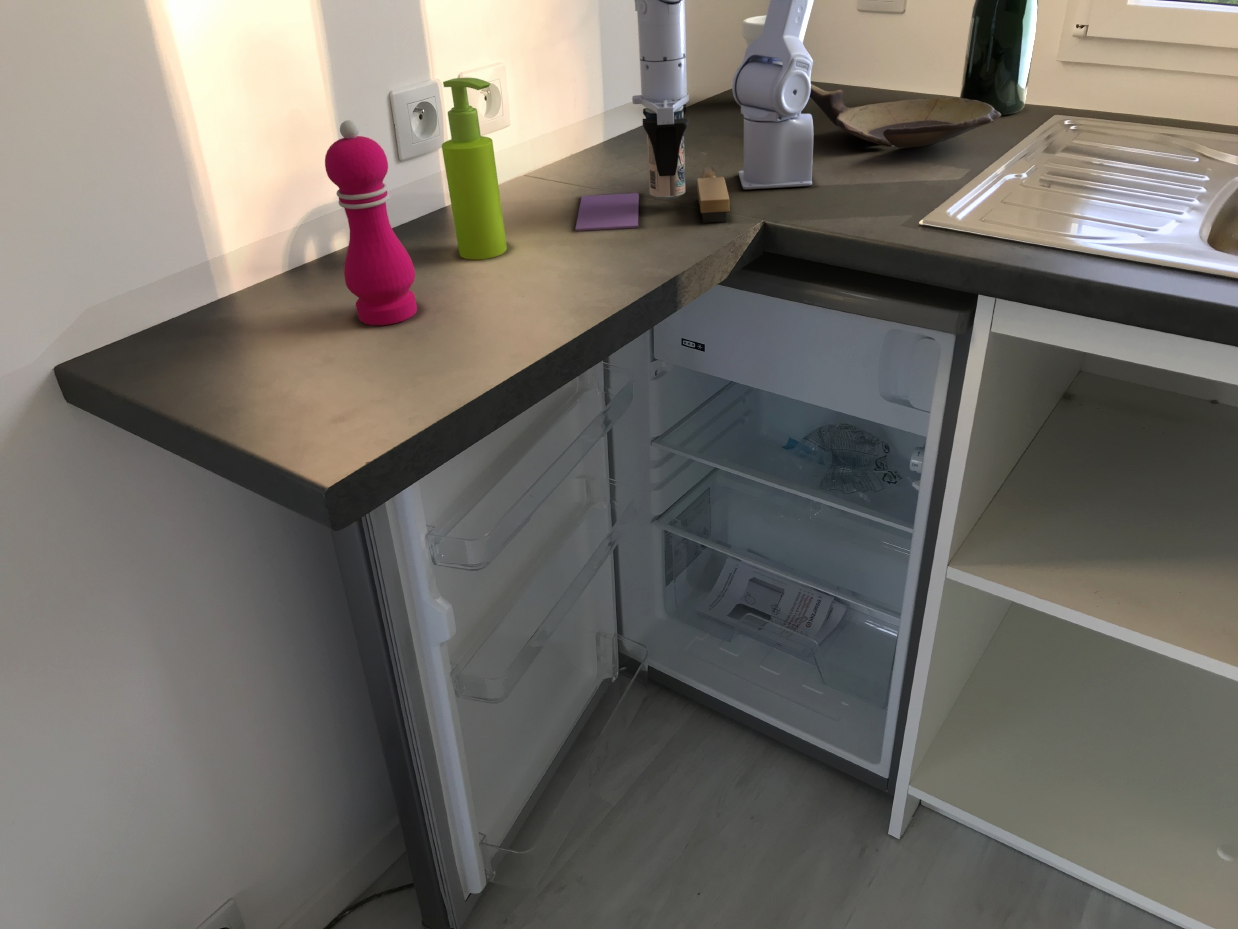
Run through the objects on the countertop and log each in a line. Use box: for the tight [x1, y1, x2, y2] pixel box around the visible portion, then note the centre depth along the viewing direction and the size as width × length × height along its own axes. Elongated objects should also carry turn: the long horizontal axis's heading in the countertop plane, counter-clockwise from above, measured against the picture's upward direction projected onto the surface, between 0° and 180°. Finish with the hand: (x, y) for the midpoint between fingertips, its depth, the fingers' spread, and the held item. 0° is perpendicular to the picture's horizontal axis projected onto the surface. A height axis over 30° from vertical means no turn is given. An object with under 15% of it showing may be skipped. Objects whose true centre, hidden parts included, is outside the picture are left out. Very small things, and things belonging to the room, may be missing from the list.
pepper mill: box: [324, 119, 418, 326], centre depth 95 cm, size 7×7×20 cm
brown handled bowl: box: [809, 83, 1002, 148], centre depth 144 cm, size 22×30×8 cm
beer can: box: [645, 105, 687, 201], centre depth 121 cm, size 5×5×12 cm
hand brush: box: [696, 165, 730, 224], centre depth 125 cm, size 4×16×3 cm, turn 179°
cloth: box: [575, 192, 640, 232], centre depth 125 cm, size 8×14×1 cm, turn 178°
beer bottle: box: [959, 0, 1039, 116], centre depth 150 cm, size 10×10×33 cm
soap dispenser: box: [441, 77, 508, 261], centre depth 110 cm, size 6×7×20 cm
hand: (666, 169), depth 122 cm, fingers closed on beer can, 5 cm apart
